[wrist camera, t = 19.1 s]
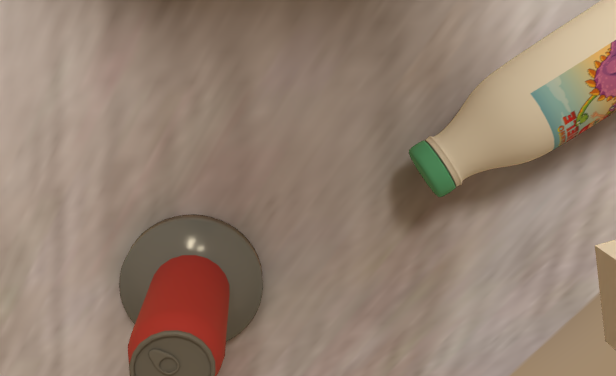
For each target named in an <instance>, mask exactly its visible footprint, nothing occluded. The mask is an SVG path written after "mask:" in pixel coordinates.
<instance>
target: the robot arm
mask: <svg viewBox="0 0 616 376" xmlns="http://www.w3.org/2000/svg"><path fill="white" fill-rule="evenodd" d="M595 252H596V261H597V270H598V279H599V289H600V298H601V307H602V315H603V325H604V335H605V341H606V342H607V343H608V344H609V345H610V346H611V347H612V348H613V349H615V350H616V240H613V241H610V242H606V243H602V244H599V245H595Z"/></svg>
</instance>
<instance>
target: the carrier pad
mask: <svg viewBox="0 0 616 376" xmlns="http://www.w3.org/2000/svg"><path fill="white" fill-rule="evenodd" d="M182 255H197V256H201V257H204V258H208V259H209V260H211V261H212V262H214V263H215V264H217V265H218V266H219V267H220V268H221V269H222V271H223V272H224V273H225V275H226V277H227V280H228V282H229V293H230V296H229V308H228V321H227V333H226V341H228V340H230V339H231V338H233V337H235V336H236V335H237V334H239V333H240V332H241V331H242V330H243V329H244V328H245V327H246V326H247V325H248V324H249V323H250V321H251V320H252V319H253V317H254V315H255V314H256V312H257V310H258V307H259V305H260V301H261V297H262V290H263V282H262V269H261V264H260V261H259V258H258V255H257V253H256V251H255V249H254V248H253V246H252V245H251V243H250V242H249V241H248V239H247V238H246V237H245V236H244V235H243V234H242V233H241V232H239V231H238V230H237V229H236V228H234V227H233V226H231V225H229V224H227V223H225V222H223V221H221V220H218V219H215V218H213V217H208V216H203V215H182V216H175V217H172V218H168V219H165V220H163V221H161V222H158V223H157V224H155V225H153V226H152V227H150V228H149V229H147V230H146V231H145V232H144V233H142V235H141V236H140V237H139V238H138V239H137V240H136V241H135V243H134V244H133V245H132V247H131V249H130V251H129V253H128V255H127V257H126V258H125V260H124V263H123V266H122V269H121V273H120V282H119V288H120V296H121V300H122V303H123V306H124V308H125V310H126V312H127V314H128V316H129V317H130V319H131V320H132V321H133V323H134V324H135V323H136V321H137V318H138V315H139V313H140V310H141V307H142V305H143V302H144V299H145V297H146V294H147V292H148V289H149V286H150V284H151V281H152V278H153V276H154V274H155V273H156V272H157V270H158V269H159V268H160V266H161V265H163V264H164V263H166V262H167V261H168V260H170V259H172V258H175V257H179V256H182Z"/></svg>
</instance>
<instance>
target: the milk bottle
mask: <svg viewBox="0 0 616 376" xmlns="http://www.w3.org/2000/svg"><path fill="white" fill-rule="evenodd" d="M614 112H616V0H601V1H600V2H598V3H597V4H595V5H594V6H592V7H591V8H589V9H587V10H586V11H584V12H583V13H581V14H580V15H578V16H577V17H575V18H574V19H572V20H571V21H569V22H568V23H566V24H564V25H563V26H561V27H560V28H558V29H557V30H555V31H554V32H552V33H551V34H549V35H548V36H546V37H545V38H543V39H542V40H540V41H539V42H537V43H536V44H534V45H533V46H531V47H530V48H528V49H527V50H525V51H524V52H522V53H520V54H519V55H517V56H516V57H514V58H513V59H511V60H510V61H509V62H507V63H506V64H504V65H503V66H501V67H500V68H499V69H497V70H496V71H494V72H493V73H492V74H490V75H489V76H488V77H487V78H486V79H484V80H483V81H482V82H481V83H480V84H479V85H478V86H477V87H476V88H475V89H474V90H473V92H472V93H471V94H470V95H469V97H468V98H467V100H466V101H465V103H464V104H463V106H462V107H461V109H460V110H459V112H458V113H457V115H456V116H455V117H454V118H453V120H452V121H451V122H450V123H449V124H448V125H447V127H446V128H445V129H444V130H443V131H441V132H440V133H439V134H438V135H436V136H434V137H431V136H429V137H428V138H427V139H426V140H425V141H421V142H420V143H418V144H416V145H415V146H413V147H412V148H411V149H410V150H409V154H410V157H411V159H412V161H413V163H414V164H415V166H416V168H417V169H418V171H419V172H420V174H421V175H422V177H423V178H424V180H425V181H426V183H427V184H428V186H429V187H430V188H431V190H432V191H433V192H434V193H435V194H436V195H437V196H438V197H442V196H444V195H446V194H448V193H450V192H451V191H452V190H454V189H455V188H456V187H457V186H459V185H462V181H463V180H464V179H466V178H467V177H469V176H471V175H473V174H476V173H479V172H482V171H486V170H490V169H495V168H500V167H507V166H513V165H518V164H522V163H526V162H529V161H531V160H534V159H536V158H538V157H541V156H543V155H545V154H547V153H549V152H550V151H552V150H554V149H555V148H557V147H559V146H561V145H562V144H564V143H566V142H568V141H569V140H571V139H572V138H574V137H576V136H577V135H579V134H581V133H582V132H584V131H585V130H587V129H589V128H590V127H592V126H594V125H595V124H597V123H598V122H600V121H602V120H603V119H605V118H606V117H608V116H610V115H611V114H613V113H614Z"/></svg>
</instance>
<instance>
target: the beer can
mask: <svg viewBox="0 0 616 376" xmlns="http://www.w3.org/2000/svg"><path fill="white" fill-rule="evenodd" d="M229 296H230V293H229V282H228V280H227V277H226V275H225V273H224V272H223V271H222V269H221V268H220V267H219V266H218V265H217V264H215V263H214V262H212V261H211V260H209V259H208V258H204V257H201V256H197V255H182V256H179V257H175V258H172V259H170V260H168V261H167V262H166V263H164V264H163V265H161V266H160V268H159V269H158V270H157V272H156V273H155V274H154V276H153V278H152V281H151V284H150V286H149V289H148V292H147V294H146V297H145V299H144V302H143V305H142V307H141V310H140V313H139V315H138V318H137V321H136V323H135V326H134V328H133V331H132V334H131V337H130V341H129V344H128V357H129V370H130V376H216V375H217V374H218V372H219V370H220V368H221V365H222V362H223V359H224V356H225V345H226V333H227V321H228V308H229Z"/></svg>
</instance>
